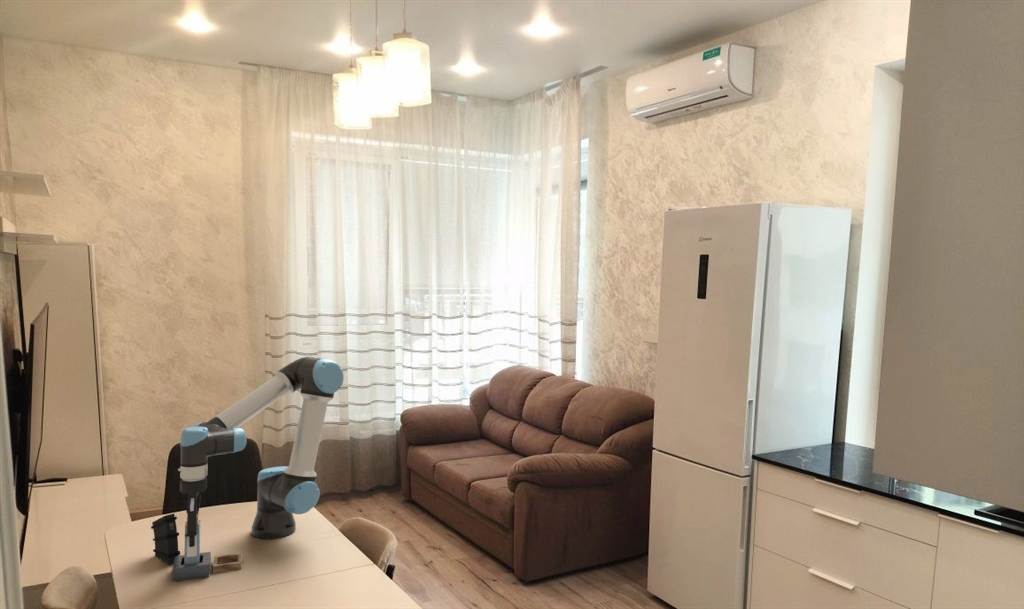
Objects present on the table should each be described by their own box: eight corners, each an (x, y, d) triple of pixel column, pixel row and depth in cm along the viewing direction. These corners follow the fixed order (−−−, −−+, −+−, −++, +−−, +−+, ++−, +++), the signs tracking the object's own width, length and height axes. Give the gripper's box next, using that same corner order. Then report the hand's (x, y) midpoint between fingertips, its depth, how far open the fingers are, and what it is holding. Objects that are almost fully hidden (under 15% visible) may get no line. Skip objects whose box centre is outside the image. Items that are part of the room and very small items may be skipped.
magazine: (172, 563, 200) (163, 515, 204) (155, 570, 208) (148, 524, 211) (184, 559, 203) (176, 512, 207) (168, 566, 211) (160, 521, 214)
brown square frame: (241, 558, 209) (241, 552, 209) (241, 568, 201) (241, 562, 201) (214, 562, 205) (214, 556, 205) (213, 572, 198) (213, 566, 198)
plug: (199, 561, 200) (200, 513, 200) (198, 566, 196) (199, 518, 196) (185, 563, 199) (186, 515, 198) (184, 568, 195) (185, 519, 195)
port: (210, 564, 204) (210, 551, 204) (209, 577, 195) (209, 564, 195) (175, 568, 200) (175, 555, 200) (172, 582, 191) (172, 568, 191)
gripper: (182, 471, 204) (181, 544, 204) (177, 487, 188) (176, 566, 188) (208, 469, 206) (207, 541, 207) (205, 484, 191) (204, 562, 191)
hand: (192, 553), depth 198 cm, fingers closed on plug, 4 cm apart
